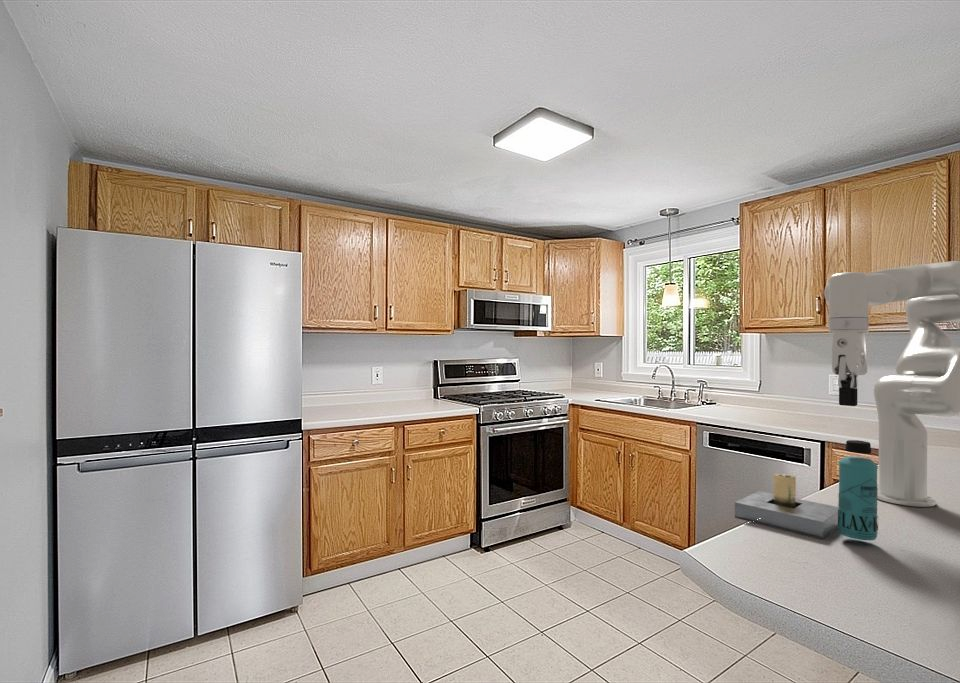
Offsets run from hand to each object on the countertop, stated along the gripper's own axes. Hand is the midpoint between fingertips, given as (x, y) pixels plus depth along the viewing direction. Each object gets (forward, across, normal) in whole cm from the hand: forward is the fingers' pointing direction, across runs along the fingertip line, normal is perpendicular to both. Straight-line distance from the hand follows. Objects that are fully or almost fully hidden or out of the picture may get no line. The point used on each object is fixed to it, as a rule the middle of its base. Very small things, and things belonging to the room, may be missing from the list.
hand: (848, 405), depth 119 cm
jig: (+25, -16, +8) cm, 31 cm away
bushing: (+25, -15, +8) cm, 30 cm away
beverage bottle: (+25, -19, -6) cm, 32 cm away
